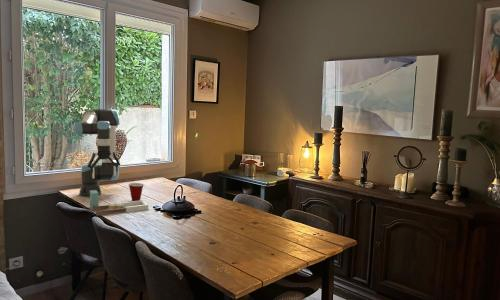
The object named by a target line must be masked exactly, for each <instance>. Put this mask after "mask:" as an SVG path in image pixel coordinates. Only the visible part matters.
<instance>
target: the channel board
mask: <svg viewBox="0 0 500 300" xmlns="http://www.w3.org/2000/svg"><path fill="white" fill-rule="evenodd" d="M121 203H122V202H121ZM121 203H119V204H121ZM92 212H95V216H97V217H98V216H106V215H112V214H121V213H127V212H126V208H125V207H124V208H119V209H117V206H116V209H110V210H108V204H105V205H99V206H93V210H92Z"/></svg>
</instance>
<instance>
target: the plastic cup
mask: <svg viewBox="0 0 500 300" xmlns="http://www.w3.org/2000/svg"><path fill="white" fill-rule="evenodd" d="M144 186H145V184H144V183H140V182H129V183H128V188H129V193H130V197H131V202H132V201H141V198H142V193H143V187H144Z"/></svg>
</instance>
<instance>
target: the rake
mask: <svg viewBox="0 0 500 300" xmlns="http://www.w3.org/2000/svg"><path fill="white" fill-rule="evenodd" d="M99 196H100V195H98V192H97V191H96V190H92V191H90V197H89V207H90V208H91V210H92V211H93V206H100V205H99Z"/></svg>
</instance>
